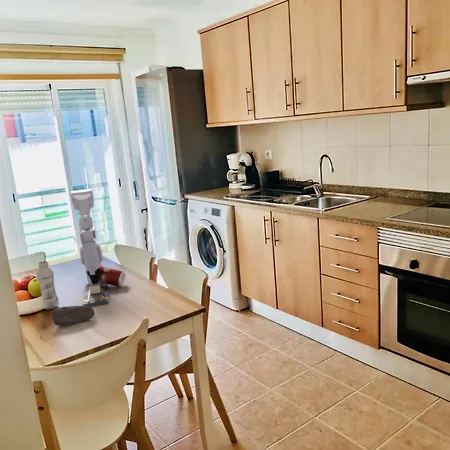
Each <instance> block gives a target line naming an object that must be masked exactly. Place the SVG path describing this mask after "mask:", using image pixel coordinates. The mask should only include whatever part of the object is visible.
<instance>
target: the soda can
mask: <svg viewBox="0 0 450 450" xmlns="http://www.w3.org/2000/svg"><path fill="white" fill-rule="evenodd" d="M99 268H100V272H99V276H98V282H99V283H98V284H101V283H104V284H108V286H113V287H118V288H120V287H122V286H123V285H124V283H125V280H126V272H125V271H123V270H120V269H114V268H110V267H105V266H101V267H99Z"/></svg>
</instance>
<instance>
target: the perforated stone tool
mask: <svg viewBox="0 0 450 450" xmlns="http://www.w3.org/2000/svg"><path fill="white" fill-rule="evenodd" d="M95 314H96V312H95V310H94V308H92V307H88V306H83V305H69V306H62V307H56V308H54V309H53V311H52V313H51V316H52V322H53V324H54V325H55V326H56V327H60V326H61V327H65V326H71V325H72V326H73V325H76V324H79V323H80V324H81V323H83V322H88V321H90V320H91V319H93V317H95Z"/></svg>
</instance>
